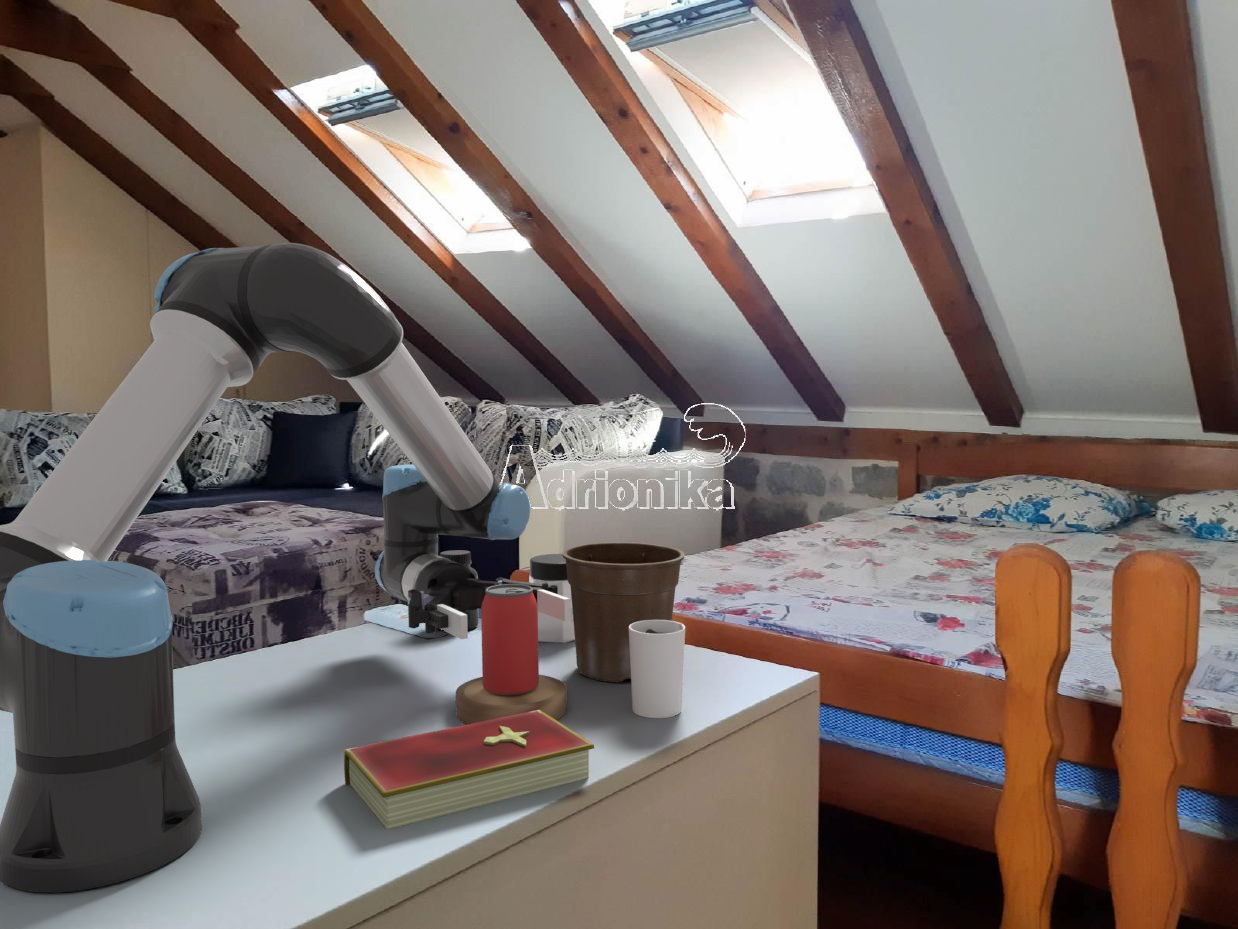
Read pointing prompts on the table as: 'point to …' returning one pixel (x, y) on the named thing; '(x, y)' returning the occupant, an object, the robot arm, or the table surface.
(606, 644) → the plant pot
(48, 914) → the table surface
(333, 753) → the table surface
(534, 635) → the beer can
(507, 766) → the hardcover book
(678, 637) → the white cup
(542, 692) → the shallow wooden bowl
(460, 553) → the supplement bottle
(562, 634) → the jar
